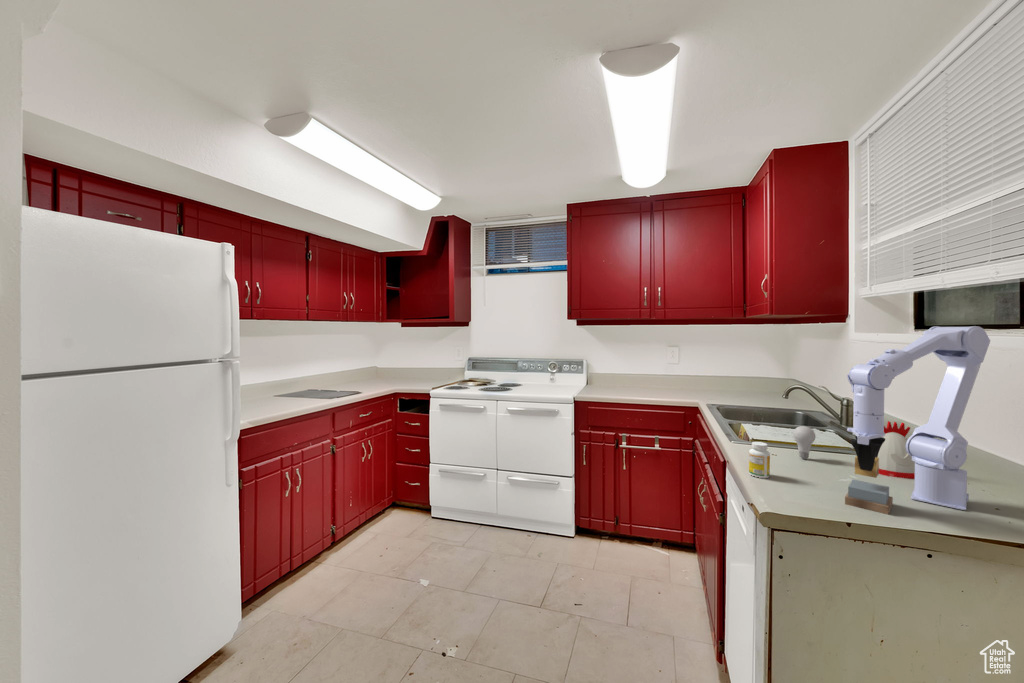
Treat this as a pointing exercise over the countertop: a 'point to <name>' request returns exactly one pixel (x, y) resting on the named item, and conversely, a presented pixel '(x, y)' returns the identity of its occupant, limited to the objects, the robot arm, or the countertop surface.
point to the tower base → (870, 504)
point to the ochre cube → (872, 473)
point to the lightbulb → (804, 440)
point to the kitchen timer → (895, 453)
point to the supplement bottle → (759, 460)
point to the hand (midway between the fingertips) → (867, 467)
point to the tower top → (868, 492)
